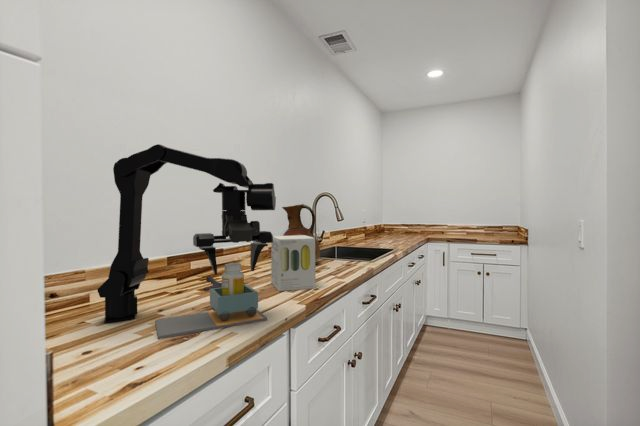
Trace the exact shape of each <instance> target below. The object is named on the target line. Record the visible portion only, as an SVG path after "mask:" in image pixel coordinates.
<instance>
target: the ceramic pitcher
mask: <svg viewBox="0 0 640 426" xmlns="http://www.w3.org/2000/svg"><path fill="white" fill-rule="evenodd" d="M281 208H282V209H283V210H284V211H285V213H286V216H287V221H288V228H287V230H286V231H285V232H284V233H283V235H282V236H296V235H306V236H310V237H314V238H315V262H316V261H318V260H319V259H320V258H321V249H320V245H319V242H318V240H317V238H316V237H315V235H314V228H315V223H316V215H315V213H314V210H313V209H312V208H311V207H310V206H309V205H307V204H305V203H302V204H297V205H290V206H282V207H281ZM303 209H306V210H308V211H309V212H310V214H311V217H312V219H311V220H312V221H311V225H310V227H309V228H308V227H305V226H304V225H303V223H302V220H301V219H302V218H301V213H302V212H301V211H302V210H303Z"/></svg>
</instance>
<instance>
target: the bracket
mask: <svg viewBox="0 0 640 426" xmlns="http://www.w3.org/2000/svg"><path fill="white" fill-rule="evenodd" d="M205 281H206V282H207V281H208V283H210V282H211V283H210V284H212V283H213V284H212V286H207V287H206V286H205V287H204V288H203V291H204V290H205V291H204V292H208V291H209V290H210V289H213V288H221V287H222V282H219V281H218V280H216V279H214V278H213V276H212V275H207V276H206V280H205ZM209 292H210V291H209Z"/></svg>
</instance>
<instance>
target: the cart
mask: <svg viewBox="0 0 640 426" xmlns="http://www.w3.org/2000/svg"><path fill="white" fill-rule="evenodd" d="M209 305H210V306H211V309H212V311H216V313H217V314H218V315H219V318H220V319H221V321H227V320H228V319H229V318H230V313H232V312H239V311H245V310H246V314H247V315H248V316H249V317H253V316H255V314H256V312H257V311H256V309H257V310H258V309H259V292H258V291H257V290H255V289H254V288H253V287H251V286H250V285H248V284H244V293H242V294H234V295H226V296H222V287H221V288H213V289H210V291H209Z"/></svg>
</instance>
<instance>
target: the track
mask: <svg viewBox="0 0 640 426" xmlns="http://www.w3.org/2000/svg"><path fill="white" fill-rule="evenodd" d="M256 311H257V312H256V314H255V316H253V317H249V316H248V315H247V314H246V310H245V311H239V312H232V313H230V318H229V319H228V320H227V321H221V319H220V318H219V315H218V314H217V313H216V311H214V310H209V311H206V312H205V311H204V312H198V313H191V314H190V313H189V314H184V315H178V316H171V317H163V318H157V319H155V321H154V323H155V328H156V334H157V335H156V336H157V340H161V339H166V338H173V337H179V336H184V335H188V334H189V335H190V334H195V333H202V332H207V331H213V330H218V329H223V328H230V327H235V326H241V325H248V324H252V323H257V322H264V321H267V320H268V317H267V316H266V315H265V314H264V313H262V312H261V311H260V310H258V309H256Z"/></svg>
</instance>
